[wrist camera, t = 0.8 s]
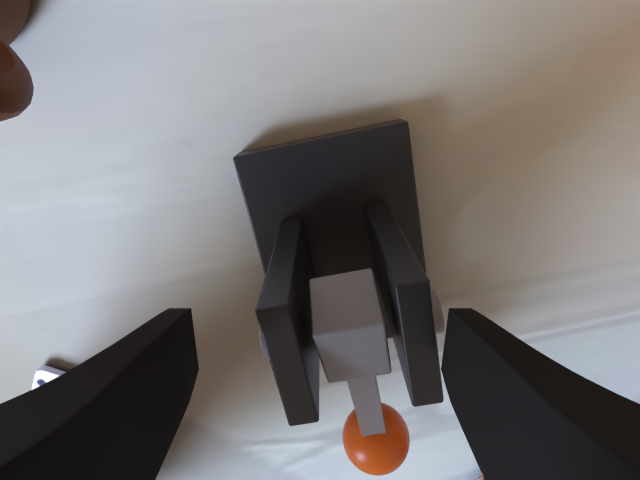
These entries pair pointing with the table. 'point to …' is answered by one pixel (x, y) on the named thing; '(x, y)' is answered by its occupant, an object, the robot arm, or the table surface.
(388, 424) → the orange knob lever
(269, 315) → the housing
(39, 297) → the table surface
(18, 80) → the mug
